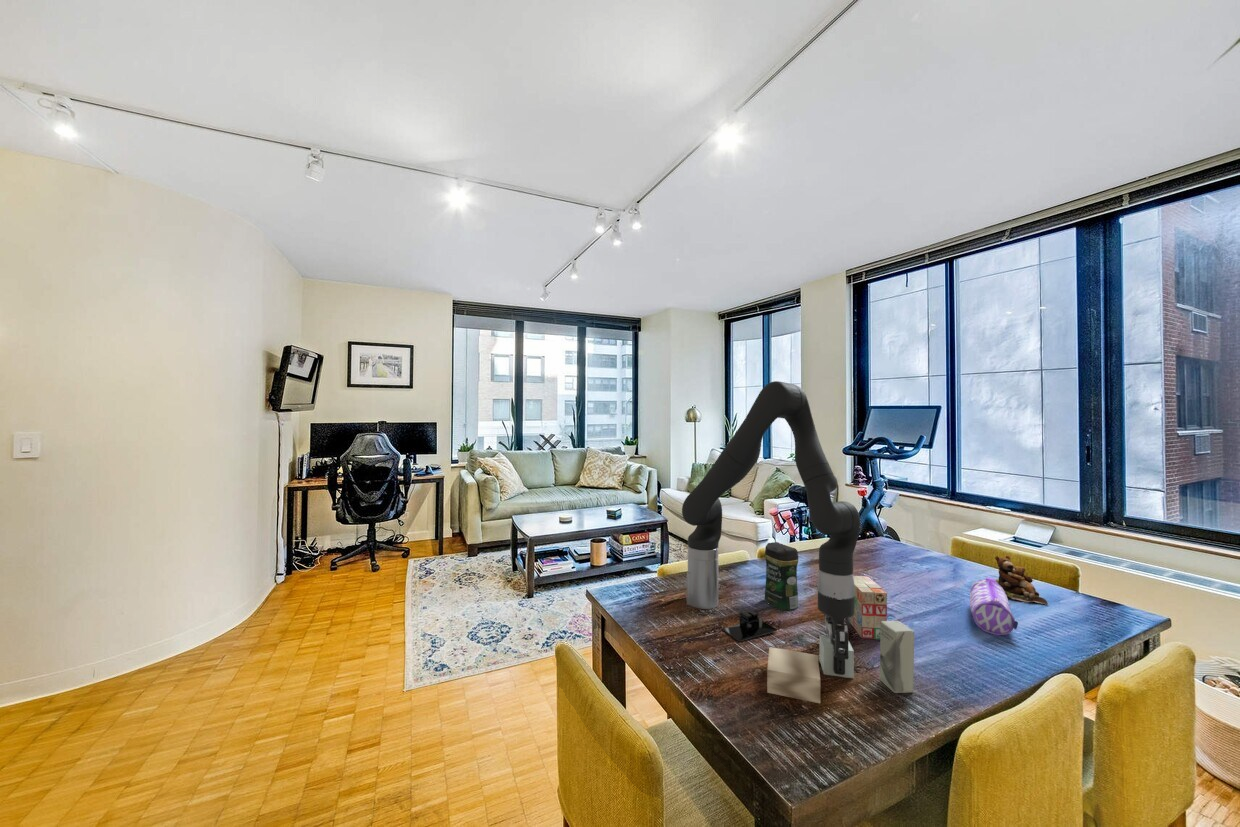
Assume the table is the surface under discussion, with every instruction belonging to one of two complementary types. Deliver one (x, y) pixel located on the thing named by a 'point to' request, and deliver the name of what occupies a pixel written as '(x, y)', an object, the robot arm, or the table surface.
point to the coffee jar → (781, 576)
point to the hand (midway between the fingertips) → (836, 665)
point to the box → (897, 656)
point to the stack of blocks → (868, 608)
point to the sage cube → (827, 658)
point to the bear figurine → (1016, 582)
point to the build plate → (749, 627)
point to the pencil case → (991, 607)
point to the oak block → (793, 674)
